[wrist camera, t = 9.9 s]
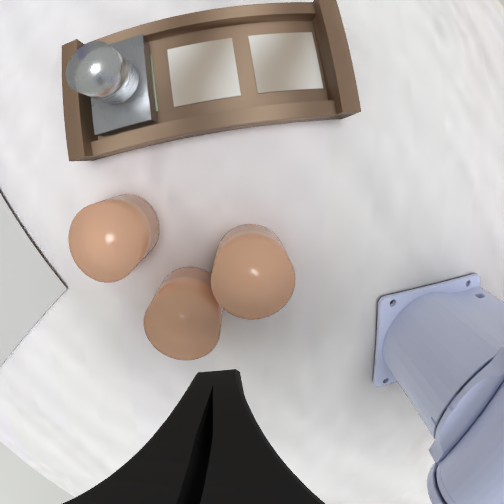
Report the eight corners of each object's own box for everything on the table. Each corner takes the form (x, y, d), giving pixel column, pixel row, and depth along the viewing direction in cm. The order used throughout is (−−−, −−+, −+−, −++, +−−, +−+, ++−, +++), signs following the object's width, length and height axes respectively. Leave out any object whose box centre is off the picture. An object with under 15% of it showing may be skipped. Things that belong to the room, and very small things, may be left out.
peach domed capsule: (279, 219, 18) (290, 234, 14) (286, 283, 19) (298, 312, 15) (211, 229, 18) (203, 247, 14) (222, 292, 19) (219, 324, 15)
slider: (148, 41, 13) (121, 7, 9) (157, 122, 15) (128, 108, 10) (97, 58, 13) (58, 32, 9) (103, 136, 15) (61, 130, 10)
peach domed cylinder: (152, 188, 17) (129, 195, 13) (165, 253, 18) (147, 277, 14) (93, 201, 17) (61, 212, 13) (108, 263, 18) (80, 286, 14)
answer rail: (321, 16, 14) (334, -5, 12) (342, 118, 16) (361, 111, 14) (84, 59, 14) (61, 45, 12) (93, 160, 16) (69, 161, 14)
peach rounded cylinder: (216, 262, 19) (211, 287, 15) (228, 320, 20) (226, 356, 16) (153, 271, 19) (134, 298, 15) (169, 327, 20) (156, 362, 16)
